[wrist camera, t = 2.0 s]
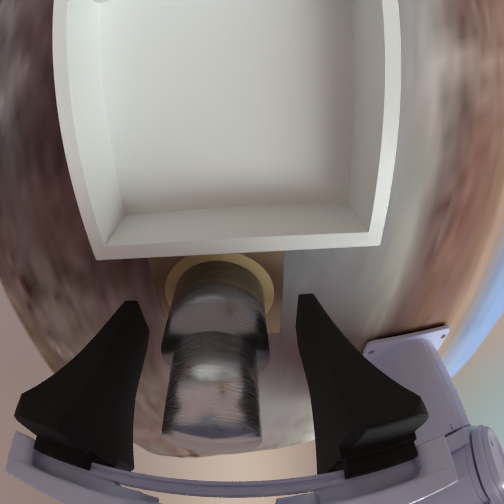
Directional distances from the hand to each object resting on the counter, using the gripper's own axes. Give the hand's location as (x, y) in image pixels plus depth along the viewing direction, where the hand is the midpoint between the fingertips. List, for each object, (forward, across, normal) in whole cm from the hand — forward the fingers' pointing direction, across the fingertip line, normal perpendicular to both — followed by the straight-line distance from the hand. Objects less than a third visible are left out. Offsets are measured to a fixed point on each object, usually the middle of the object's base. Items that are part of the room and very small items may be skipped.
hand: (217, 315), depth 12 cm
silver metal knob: (+1, 0, 0) cm, 1 cm away
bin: (+3, -1, -9) cm, 9 cm away
